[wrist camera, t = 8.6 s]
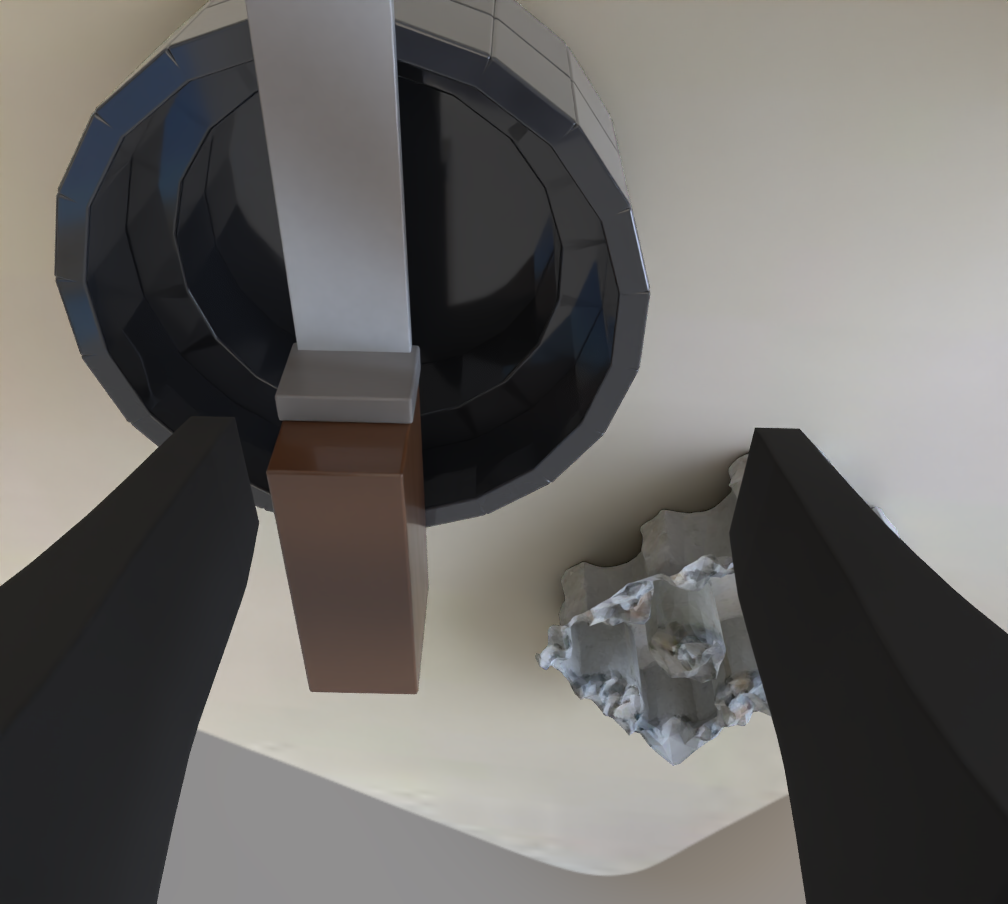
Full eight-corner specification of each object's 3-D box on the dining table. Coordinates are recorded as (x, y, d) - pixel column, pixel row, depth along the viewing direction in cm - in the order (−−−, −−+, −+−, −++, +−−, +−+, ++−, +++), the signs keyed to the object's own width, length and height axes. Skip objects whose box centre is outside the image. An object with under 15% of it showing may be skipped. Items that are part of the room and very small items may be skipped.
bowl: (652, -48, 18) (689, 23, 14) (601, 406, 25) (615, 535, 21) (80, -63, 18) (-41, 4, 14) (195, 396, 25) (137, 524, 21)
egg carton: (802, 409, 25) (844, 511, 22) (926, 549, 28) (977, 655, 25) (517, 583, 30) (517, 688, 26) (654, 685, 33) (669, 789, 30)
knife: (431, 585, 22) (420, 695, 20) (329, 583, 22) (306, 693, 20) (392, -230, 12) (360, -211, 9) (203, -236, 12) (121, -217, 9)
